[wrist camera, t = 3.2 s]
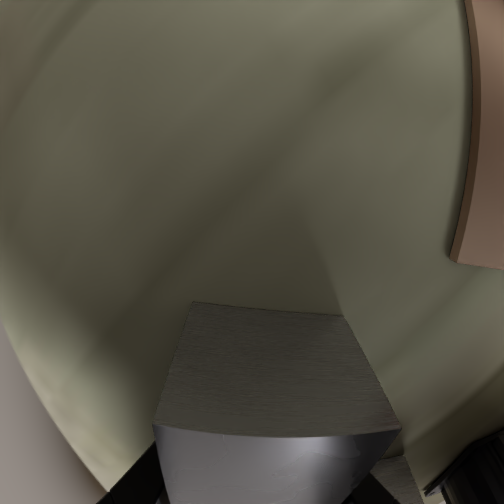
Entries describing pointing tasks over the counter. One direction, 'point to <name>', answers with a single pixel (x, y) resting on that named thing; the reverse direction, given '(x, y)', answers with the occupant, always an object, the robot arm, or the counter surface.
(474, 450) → the robot arm
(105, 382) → the counter surface
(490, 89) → the board
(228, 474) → the l bracket
